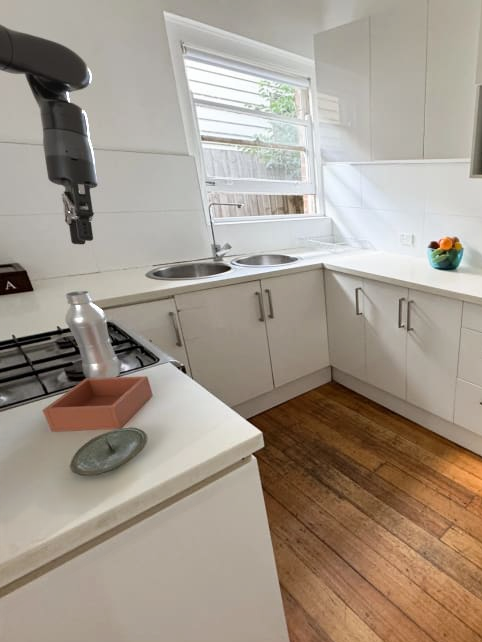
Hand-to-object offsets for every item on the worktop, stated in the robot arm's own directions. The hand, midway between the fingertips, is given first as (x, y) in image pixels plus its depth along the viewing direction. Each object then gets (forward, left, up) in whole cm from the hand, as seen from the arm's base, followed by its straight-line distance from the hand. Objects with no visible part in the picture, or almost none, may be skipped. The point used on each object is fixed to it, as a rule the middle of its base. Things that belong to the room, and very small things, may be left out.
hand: (82, 242), depth 79 cm
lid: (+16, -33, -30) cm, 47 cm away
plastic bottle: (-1, -5, -30) cm, 30 cm away
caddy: (+7, -19, -30) cm, 36 cm away
